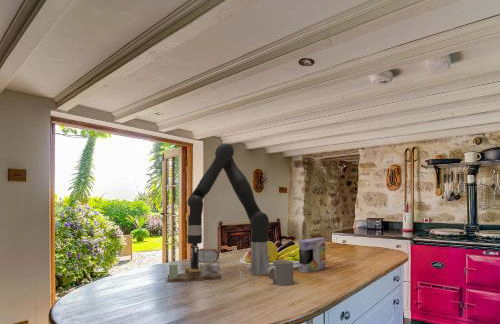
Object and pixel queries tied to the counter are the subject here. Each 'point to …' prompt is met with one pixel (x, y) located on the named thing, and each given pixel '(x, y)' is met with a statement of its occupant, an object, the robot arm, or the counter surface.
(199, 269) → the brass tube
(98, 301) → the counter surface
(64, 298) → the counter surface
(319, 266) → the cake pan box
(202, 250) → the tin
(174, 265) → the socket block
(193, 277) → the stand
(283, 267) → the coffee mug
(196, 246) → the robot arm
